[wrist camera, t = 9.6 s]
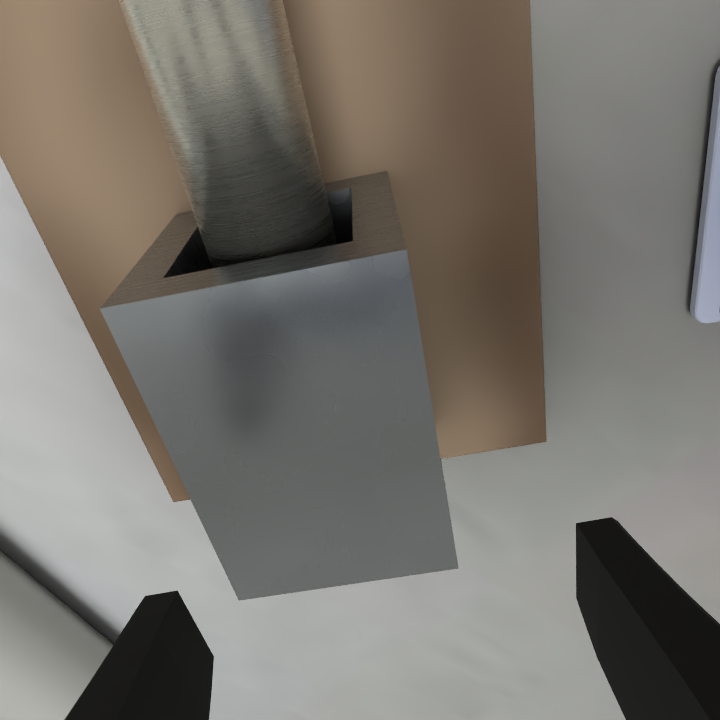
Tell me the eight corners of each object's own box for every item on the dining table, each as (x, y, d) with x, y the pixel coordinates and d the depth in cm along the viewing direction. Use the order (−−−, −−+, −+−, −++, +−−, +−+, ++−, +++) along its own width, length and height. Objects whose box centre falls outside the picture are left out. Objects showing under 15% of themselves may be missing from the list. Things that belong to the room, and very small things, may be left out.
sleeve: (387, 170, 16) (406, 249, 11) (430, 427, 21) (458, 568, 15) (176, 213, 16) (99, 308, 11) (264, 455, 21) (239, 600, 16)
